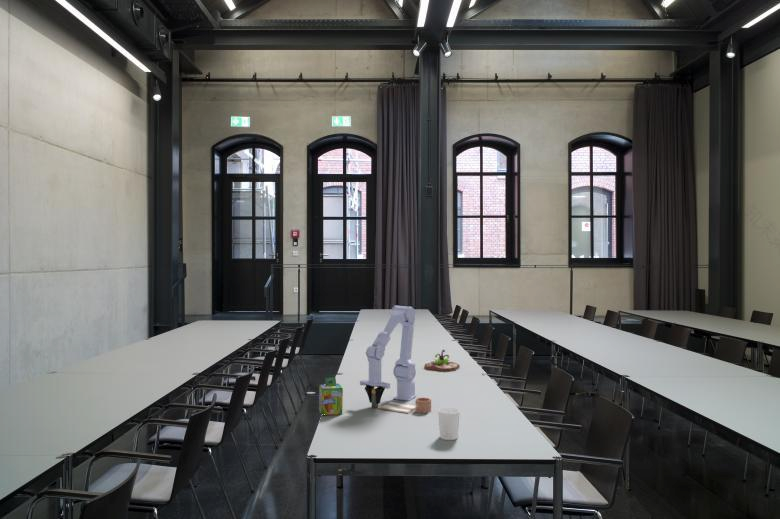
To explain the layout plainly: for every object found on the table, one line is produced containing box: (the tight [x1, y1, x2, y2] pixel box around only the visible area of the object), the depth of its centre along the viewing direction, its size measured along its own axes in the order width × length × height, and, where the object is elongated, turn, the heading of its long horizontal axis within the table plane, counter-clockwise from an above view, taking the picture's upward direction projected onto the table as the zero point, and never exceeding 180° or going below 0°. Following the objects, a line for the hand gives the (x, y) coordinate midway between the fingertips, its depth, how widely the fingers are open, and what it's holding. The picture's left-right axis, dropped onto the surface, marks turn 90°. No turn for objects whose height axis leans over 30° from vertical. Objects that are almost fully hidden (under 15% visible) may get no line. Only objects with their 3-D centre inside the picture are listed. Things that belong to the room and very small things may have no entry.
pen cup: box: [415, 397, 432, 414], centre depth 238 cm, size 6×6×5 cm
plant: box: [423, 349, 461, 373], centre depth 329 cm, size 20×20×11 cm
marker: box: [371, 388, 379, 409], centre depth 244 cm, size 3×3×8 cm
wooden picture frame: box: [377, 401, 416, 414], centre depth 243 cm, size 12×15×1 cm
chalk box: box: [318, 377, 344, 417], centre depth 236 cm, size 9×9×15 cm
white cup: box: [438, 407, 461, 441], centre depth 204 cm, size 8×8×10 cm
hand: (374, 402), depth 244 cm, fingers closed on marker, 3 cm apart
